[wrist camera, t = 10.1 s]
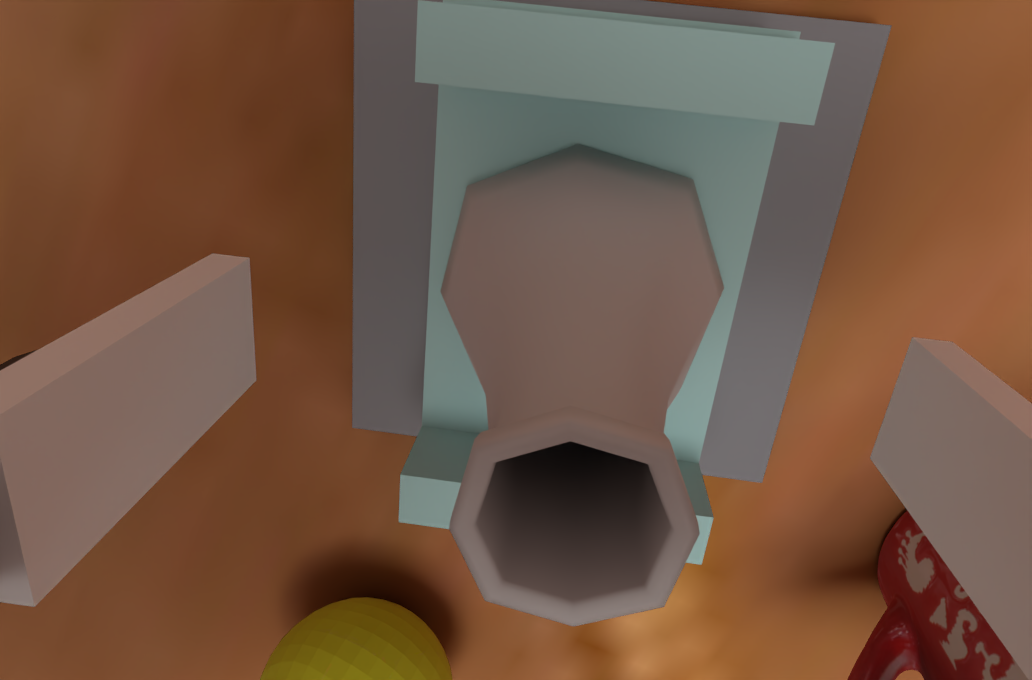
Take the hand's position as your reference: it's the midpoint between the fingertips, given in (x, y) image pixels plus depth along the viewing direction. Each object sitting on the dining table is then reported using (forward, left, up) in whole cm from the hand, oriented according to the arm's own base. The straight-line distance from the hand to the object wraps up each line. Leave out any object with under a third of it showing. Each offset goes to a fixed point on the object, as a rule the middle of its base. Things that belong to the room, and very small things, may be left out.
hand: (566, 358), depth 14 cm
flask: (0, 0, -5) cm, 5 cm away
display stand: (0, 0, -8) cm, 9 cm away
